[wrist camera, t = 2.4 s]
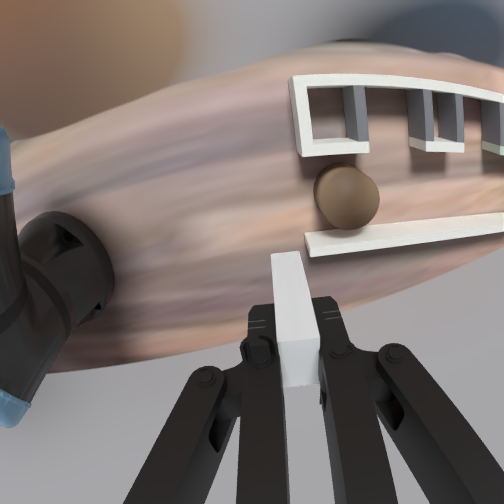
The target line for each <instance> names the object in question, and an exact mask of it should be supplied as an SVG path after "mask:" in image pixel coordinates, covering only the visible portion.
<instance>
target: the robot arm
mask: <svg viewBox="0 0 504 504" xmlns="http://www.w3.org/2000/svg"><path fill="white" fill-rule="evenodd" d="M14 189H15V181H14V180H13V178H12V170H11V152H10V139H9V136H8V134H7V132H6V131H5V129H4V128H3V127H1V126H0V426H2V427H6V428H12V427H14V426H16V425H17V424H18V423H19V422H20V420H21V419H22V417H23V415H24V414H25V413H26V411H27V410H28V408H30V407H31V401H32V399H33V397H34V395H35V393H36V391H37V389H38V388H39V386H40V384H41V382H42V381H43V379H44V377H45V375H46V373H47V372H48V370H49V368H50V366H51V365H52V363H53V361H54V360H55V358H56V356H57V355H58V353H59V351H60V350H61V348H62V346H63V345H64V343H65V341H66V340H67V338H68V337H69V335H70V334H71V333H72V332H74V331H75V330H77V329H78V328H80V327H81V326H83V325H84V324H86V323H87V322H89V321H90V320H92V319H94V318H95V317H96V316H98V315H99V314H100V313H101V311H102V310H103V309H104V307H105V306H106V304H107V302H108V301H109V299H110V297H111V295H112V292H113V287H114V276H113V270H112V266H111V262H110V259H109V257H108V255H107V253H106V251H105V249H104V247H103V245H102V244H101V242H100V241H99V239H98V238H97V237H96V235H95V234H94V233H93V232H92V231H91V230H90V229H89V228H88V227H87V226H86V225H85V224H83V223H82V222H81V221H79V220H78V219H76V218H75V217H73V216H71V215H68V214H66V213H62V212H56V211H51V212H45V213H42V214H40V215H39V216H37V217H35V218H34V219H33V220H31V221H30V222H28V223H27V224H26V225H25V226H24V227H23V229H22V230H21V232H20V233H19V235H18V236H17V229H16V221H15V212H14V202H13V190H14ZM271 263H272V276H273V290H274V303H273V304H264V305H254V306H253V307H252V308H251V310H250V312H249V314H248V335H247V337H246V338H245V339H244V340H243V341H242V342H241V345H240V351H241V355H242V359H243V361H242V362H241V363H240V364H238V365H237V366H235V367H233V368H230V369H227V370H224V371H221V370H220V369H219V368H217V367H214V366H204V367H201V368H199V369H197V370H195V371H194V372H193V373H192V374H191V376H190V377H189V379H188V381H187V383H186V385H185V387H184V389H183V391H182V392H181V395H180V397H179V398H178V400H177V402H176V404H175V406H174V408H173V410H172V412H171V413H170V415H169V417H168V419H167V421H166V423H165V425H164V427H163V429H162V430H161V432H160V434H159V436H158V438H157V440H156V442H155V444H154V446H153V448H152V450H151V452H150V453H149V455H148V457H147V459H146V461H145V463H144V465H143V467H142V468H141V470H140V472H139V474H138V476H137V478H136V480H135V482H134V484H133V486H132V488H131V489H130V491H129V493H128V495H127V497H126V499H125V501H124V503H123V504H204V503H205V500H206V498H207V495H208V493H209V490H210V488H211V485H212V483H213V480H214V478H215V475H216V473H217V470H218V468H219V465H220V462H221V460H222V457H223V454H224V452H225V449H226V446H227V444H228V441H229V438H230V436H231V433H232V430H233V428H234V425H235V422H236V419H237V417H240V416H241V417H240V436H239V455H238V476H237V496H236V504H290V494H289V473H288V454H287V438H286V420H285V404H284V393H283V388H285V387H294V386H303V385H312V384H319V381H320V404H322V410H323V416H324V422H325V429H326V436H327V443H328V450H329V458H330V465H331V473H332V481H333V489H334V498H335V504H398V501H397V496H396V491H395V486H394V482H393V477H392V473H391V469H390V464H389V460H388V456H387V452H386V448H385V444H384V440H383V436H382V433H381V429H380V425H379V421H378V418H377V415H378V417H379V419H380V420H381V422H382V424H383V425H384V427H385V429H386V430H387V432H388V433H389V435H390V437H391V438H392V440H393V442H394V443H395V445H396V447H397V448H398V450H399V452H400V453H401V455H402V457H403V458H404V460H405V462H406V463H407V465H408V467H409V468H410V470H411V472H412V473H413V475H414V477H415V478H416V480H417V482H418V483H419V485H420V487H421V489H422V491H423V492H424V494H425V496H426V497H427V499H428V501H429V503H430V504H504V471H503V470H502V468H501V467H500V466H499V464H498V463H497V461H496V460H495V458H494V457H493V456H492V454H491V453H490V451H489V450H488V449H487V447H486V446H485V444H484V443H483V442H482V440H481V439H480V438H479V436H478V435H477V434H476V432H475V431H474V430H473V428H472V427H471V426H470V424H469V423H468V422H467V420H466V419H465V418H464V416H463V415H462V414H461V413H460V411H459V410H458V409H457V407H456V406H455V405H454V404H453V402H452V401H451V400H450V399H449V398H448V396H447V395H446V394H445V392H444V391H443V390H442V389H441V387H440V386H439V385H438V384H437V382H436V381H435V380H434V379H433V377H432V376H431V375H430V374H429V373H428V372H427V370H426V369H425V368H424V367H423V365H422V364H421V363H420V362H419V361H418V359H417V358H416V357H415V356H414V355H413V354H412V352H411V351H410V350H409V349H408V348H407V347H405V346H404V345H401V344H398V343H391V344H386V345H385V346H383V347H381V349H380V350H379V352H372V351H363V350H361V349H358V348H356V347H355V346H354V344H352V343H351V342H350V340H349V337H348V334H347V331H346V328H345V325H344V322H343V319H342V317H341V313H340V311H339V307H338V305H337V302H336V301H335V300H334V299H333V298H332V297H330V296H326V297H318V298H311V297H310V293H309V288H308V284H307V280H306V276H305V272H304V268H303V265H302V261H301V257H300V253H299V251H293V252H285V253H276V254H271Z"/></svg>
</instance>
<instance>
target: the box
mask: <svg viewBox="0 0 504 504" xmlns="http://www.w3.org/2000/svg"><path fill="white" fill-rule="evenodd" d="M288 83H289V90H290V98H291V105H292V113H293V121H294V129H295V137H296V146H297V152H298V153H299V154H300V155H301V156H302V157H309V156H321V155H335V154H351V153H370V151H369V133H368V120H367V108H366V98H365V89H364V88H389V89H405V90H406V98H407V110H408V125H409V146H411V147H414V148H417V149H420V150H423V151H426V152H462V153H464V113H463V97H469V98H474V99H479V100H481V119H482V149H484V150H487V151H490V152H493V153H496V154H499V155H504V95H503V94H500V93H496V92H492V91H488V90H484V89H479V88H475V87H470V86H465V85H460V84H454V83H449V82H443V81H436V80H429V79H421V78H412V77H402V76H389V75H370V74H316V75H297V76H292V77H291V78H290V79H289V80H288ZM313 88H342V95H343V103H344V113H345V123H346V135H347V138H330V139H316V140H313V137H312V128H311V119H310V111H309V102H308V95H307V89H313ZM432 92H435V93H437V105H438V123H439V137H434V119H433V103H432ZM462 96H463V97H462ZM498 232H504V212H501V213H490V214H479V215H469V216H458V217H448V218H437V219H427V220H417V221H408V222H398V223H388V224H379V225H370V226H363V227H361V228H359V229H355V230H342V229H333V230H324V231H315V232H307V233H304V235H305V243H306V246H307V249H308V252H309V255H310V257H316V256H324V255H333V254H341V253H349V252H357V251H365V250H372V249H380V248H388V247H396V246H403V245H411V244H418V243H426V242H433V241H441V240H448V239H455V238H463V237H470V236H477V235H484V234H491V233H498Z"/></svg>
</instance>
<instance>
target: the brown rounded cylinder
mask: <svg viewBox="0 0 504 504" xmlns="http://www.w3.org/2000/svg"><path fill="white" fill-rule="evenodd" d="M314 197H315V200H316V202H317V204H318V206H319V207H320V209H321V211H322V212H323V214H324V216H325V217H326V219H327V220H328V221H329V222H330V223H331V224H332V225H333V226H335V227H337V228H339V229H342V230H355V229H359V228H361V227H363V226H365V225H366V224H368V223H369V222H370V221H371V220H372V219H373V217H374V216H375V214H376V212H377V210H378V207H379V201H380V197H379V191H378V188H377V186H376V184H375V183H374V181H373V180H372V179H371V178H370V177H369V176H367V175H366V174H364V173H363V172H361V171H360V170H358V169H356V168H355V167H353V166H351V165H349V164H346V163H335V164H332V165H329V166H327V167H326V168H324V169H323V170H322V171H321V172H320V173H319V175H318V176H317V178H316V180H315V183H314Z"/></svg>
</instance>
